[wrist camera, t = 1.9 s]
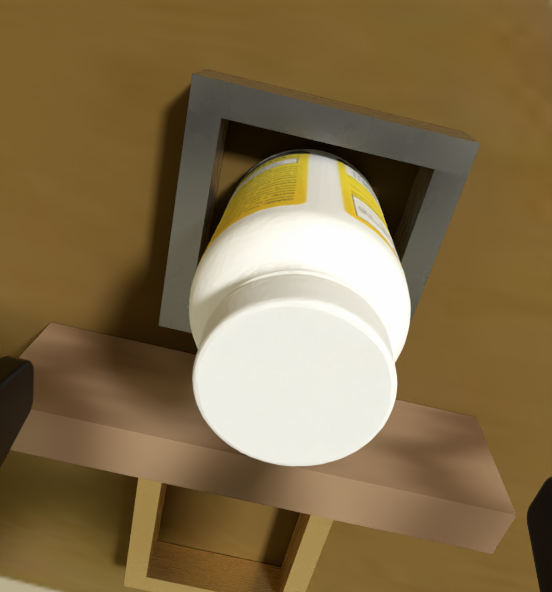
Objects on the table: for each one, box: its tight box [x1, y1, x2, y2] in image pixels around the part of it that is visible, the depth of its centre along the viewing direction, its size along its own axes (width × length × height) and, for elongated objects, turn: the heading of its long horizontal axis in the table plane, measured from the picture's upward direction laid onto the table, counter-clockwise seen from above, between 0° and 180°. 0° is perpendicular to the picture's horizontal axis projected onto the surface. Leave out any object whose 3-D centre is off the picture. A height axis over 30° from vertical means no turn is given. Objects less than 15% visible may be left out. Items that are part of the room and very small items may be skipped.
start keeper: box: [159, 70, 480, 333], centre depth 18 cm, size 8×8×2 cm
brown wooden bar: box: [10, 322, 516, 554], centre depth 20 cm, size 18×2×5 cm, turn 78°
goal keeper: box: [124, 478, 333, 592], centre depth 25 cm, size 8×8×2 cm
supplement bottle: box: [189, 149, 411, 466], centre depth 14 cm, size 5×5×10 cm
